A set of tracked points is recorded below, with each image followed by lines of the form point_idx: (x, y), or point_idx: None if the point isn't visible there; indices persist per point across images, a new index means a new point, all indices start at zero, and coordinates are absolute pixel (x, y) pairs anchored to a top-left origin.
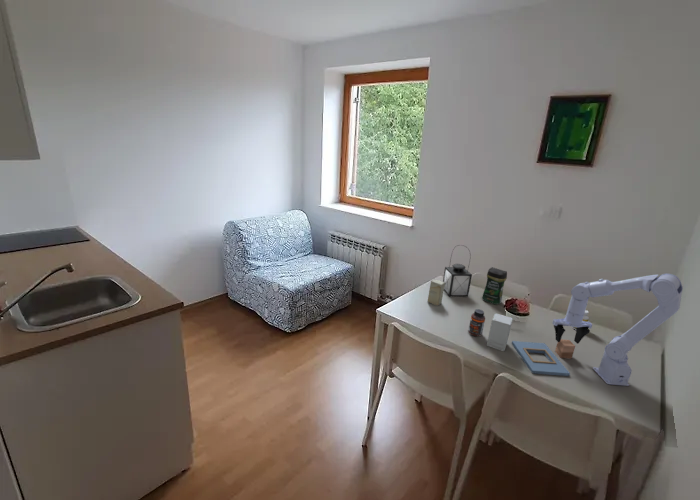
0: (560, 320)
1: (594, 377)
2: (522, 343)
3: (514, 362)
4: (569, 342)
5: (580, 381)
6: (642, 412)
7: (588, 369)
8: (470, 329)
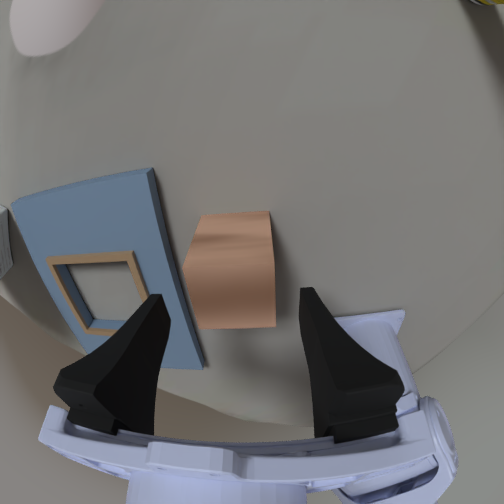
0: (91, 462)
1: (297, 355)
2: (41, 214)
3: (48, 314)
4: (255, 295)
5: (232, 373)
6: None
7: None
8: None
